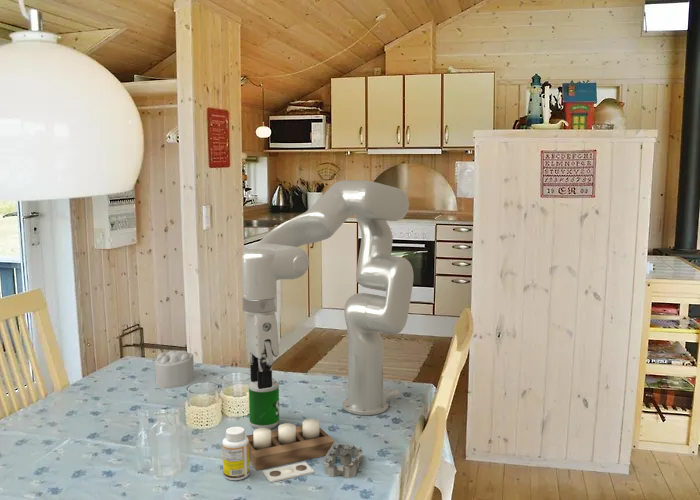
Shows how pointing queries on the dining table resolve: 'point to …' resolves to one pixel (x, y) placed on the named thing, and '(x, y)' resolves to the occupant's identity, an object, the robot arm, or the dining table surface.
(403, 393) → the dining table surface
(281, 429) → the button middle
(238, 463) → the supplement bottle
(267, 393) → the soda can
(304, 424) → the button
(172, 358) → the lumpy-topped squat cylinder
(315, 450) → the wooden compartment box
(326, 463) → the grey toy castle
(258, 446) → the cream rounded cylinder
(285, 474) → the card
